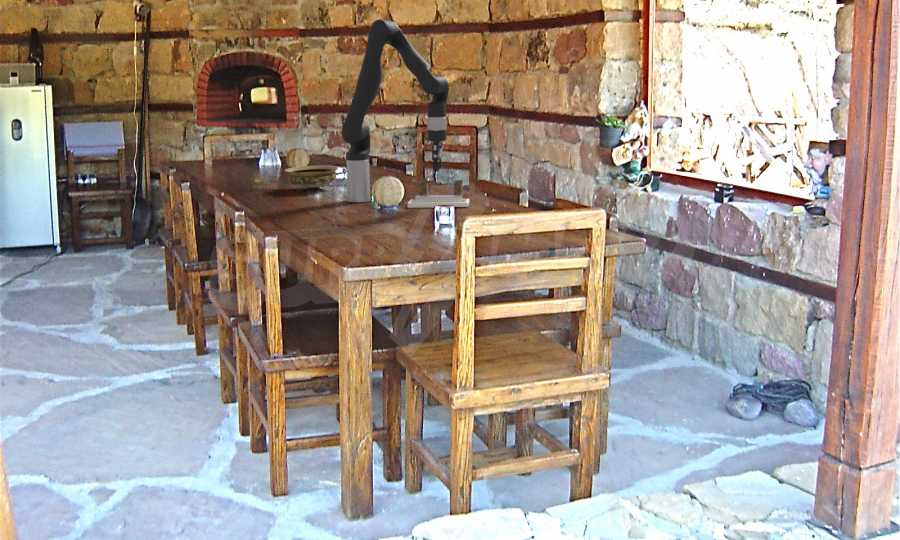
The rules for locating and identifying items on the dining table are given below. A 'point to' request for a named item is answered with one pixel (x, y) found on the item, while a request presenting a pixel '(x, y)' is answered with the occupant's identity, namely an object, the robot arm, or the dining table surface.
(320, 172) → the ceramic bowl
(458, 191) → the rack
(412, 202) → the tray
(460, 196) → the rail
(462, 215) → the dining table surface
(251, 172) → the dining table surface
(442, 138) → the robot arm
